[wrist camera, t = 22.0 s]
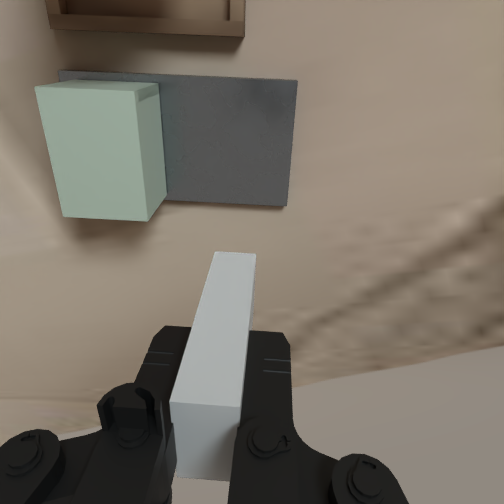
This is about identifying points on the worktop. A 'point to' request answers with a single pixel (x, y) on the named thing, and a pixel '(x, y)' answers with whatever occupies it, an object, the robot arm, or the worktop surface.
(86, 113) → the block
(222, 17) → the tray
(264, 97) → the stub plate
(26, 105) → the worktop surface
